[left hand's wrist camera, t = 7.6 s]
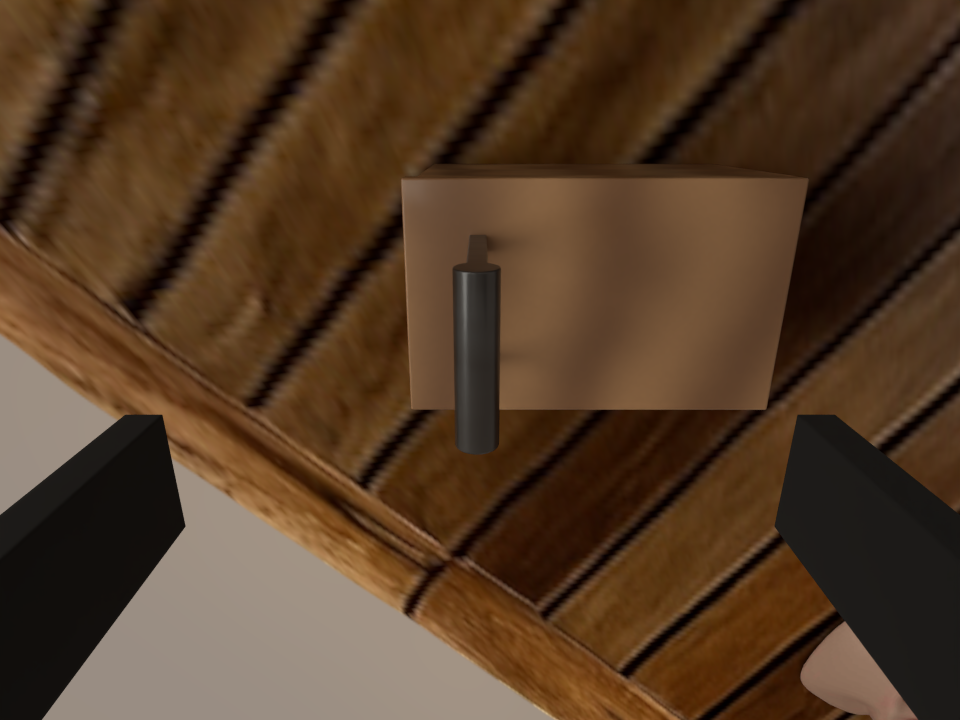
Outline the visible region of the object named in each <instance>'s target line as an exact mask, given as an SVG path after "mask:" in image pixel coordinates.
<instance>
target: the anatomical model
mask: <svg viewBox="0 0 960 720" xmlns="http://www.w3.org/2000/svg"><path fill="white" fill-rule="evenodd" d="M800 677H801V682H802V683H803V685H804V686H805V687H806V688H807V689H808V690H809V691H811V692H812V693H813V694H815V695H816V696H818V697H819V698H821V699H822V700H824V701H826V702H827V703H829V704H831V705H833V706H835V707H837V708H840V709H842V710H844V711H847V712H850V713H854V714H859V715H870V716H871V718H872V719H873V720H918V719H917V717H916V716H915V715H914V713H913V712H912V711H911V709H910V708H909V707H908V705H907V704H906V703H905V701H904V700H903V699H902V697H901V696H900V695H899V693H898V692H897V691H896V689H895V688H894V687H893V685H892V684H891V682H890V681H889V680H888V678H887V677H886V676H885V674H884V673H883V672H882V670H881V669H880V668H879V666H878V665H877V664H876V662H875V661H874V660H873V658H872V657H871V656H870V654H869V653H868V652H867V650H866V649H865V648H864V646H863V645H862V643H861V642H860V641H859V639H858V638H857V637H856V635H855V634H854V633H853V631H852V630H851V629H850V627H849V626H848V625H847V623H846V622H845V621H844V622H843V623H842V624H840V625H839V626H838V627H836V628H835V629H834V630H833V631H832V632H831V633H830V634H829V635H828V636H827V637H826V638H825V639H824V640H823V641H822V642H821V643H820V644H819V645H818V647H817V648H816V649H815V650H814V652H813V653H812V654H811V655H810V657H809V658H808V660H807V661H806V663H805V664H804V666H803V668H802V671H801V676H800Z"/></svg>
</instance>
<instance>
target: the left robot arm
mask: <svg viewBox="0 0 960 720" xmlns="http://www.w3.org/2000/svg"><path fill="white" fill-rule="evenodd" d="M184 528H185V522H184V517H183V512H182V507H181V502H180V498H179V493H178V488H177V483H176V478H175V474H174V469H173V464H172V459H171V454H170V449H169V445H168V440H167V435H166V430H165V425H164V421H163V416H162V415H124V416H123V417H122V418H121V419H119V420H118V421H117V422H116V423H114V424H113V425H112V426H111V427H109V428H108V429H107V430H106V431H104V432H103V433H102V434H101V435H99V436H98V437H97V438H96V439H94V440H93V441H92V442H91V443H89V444H88V445H87V446H86V447H85V448H83V449H82V450H81V451H80V452H78V453H77V454H76V455H75V456H73V457H72V458H71V459H70V460H68V461H67V462H66V463H65V464H63V465H62V466H61V467H60V468H58V469H57V470H56V471H55V472H53V473H52V474H51V475H50V476H48V477H47V478H46V479H45V480H43V481H42V482H41V483H40V484H38V485H37V486H36V487H35V488H33V489H32V490H31V491H30V492H28V493H27V494H26V495H25V496H23V497H22V498H21V499H20V500H18V501H17V502H16V503H15V504H13V505H12V506H11V507H10V508H8V509H7V510H6V511H5V512H3V513H2V514H1V515H0V720H42V719H43V717H44V716H45V715H46V713H47V712H48V711H49V709H50V708H51V707H52V705H53V704H54V703H55V701H56V700H57V699H58V697H59V696H60V695H61V693H62V692H63V691H64V689H65V688H66V686H67V685H68V684H69V682H70V681H71V680H72V678H73V677H74V676H75V674H76V673H77V672H78V670H79V669H80V668H81V666H82V665H83V664H84V662H85V661H86V660H87V658H88V657H89V656H90V654H91V653H92V651H93V650H94V649H95V647H96V646H97V645H98V643H99V642H100V641H101V639H102V638H103V637H104V635H105V634H106V633H107V631H108V630H109V629H110V627H111V626H112V625H113V623H114V622H115V621H116V619H117V618H118V617H119V615H120V614H121V612H122V611H123V610H124V608H125V607H126V606H127V604H128V603H129V602H130V600H131V599H132V598H133V596H134V595H135V594H136V592H137V591H138V590H139V588H140V587H141V586H142V584H143V583H144V582H145V580H146V579H147V578H148V576H149V575H150V574H151V572H152V571H153V569H154V568H155V567H156V565H157V564H158V563H159V561H160V560H161V559H162V557H163V556H164V555H165V553H166V552H167V551H168V549H169V548H170V547H171V545H172V544H173V543H174V541H175V540H176V539H177V537H178V536H179V534H180V533H181V532H182V530H183V529H184ZM775 528H776V529H777V530H778V532H779V533H780V535H781V536H782V537H783V539H784V540H785V541H786V543H787V544H788V545H789V547H790V548H791V549H792V551H793V552H794V553H795V555H796V556H797V557H798V559H799V560H800V561H801V563H802V564H803V565H804V567H805V568H806V569H807V571H808V572H809V574H810V575H811V576H812V578H813V579H814V580H815V582H816V583H817V584H818V586H819V587H820V588H821V590H822V591H823V592H824V594H825V595H826V596H827V598H828V599H829V600H830V602H831V603H832V604H833V606H834V607H835V608H836V610H837V611H838V613H839V614H840V615H841V617H842V618H843V619H844V621H845V622H846V623H847V625H848V626H849V627H850V629H851V630H852V631H853V633H854V634H855V635H856V637H857V638H858V639H859V641H860V642H861V643H862V645H863V646H864V648H865V649H866V650H867V652H868V653H869V654H870V656H871V657H872V658H873V660H874V661H875V662H876V664H877V665H878V666H879V668H880V669H881V670H882V672H883V673H884V674H885V676H886V677H887V678H888V680H889V681H890V682H891V684H892V685H893V687H894V688H895V689H896V691H897V692H898V693H899V695H900V696H901V697H902V699H903V700H904V701H905V703H906V704H907V705H908V707H909V708H910V709H911V711H912V712H913V713H914V715H915V716H916V717H917V719H918V720H960V515H959V514H958V513H957V512H955V511H954V510H953V509H952V508H950V507H949V506H948V505H947V504H945V503H944V502H943V501H942V500H940V499H939V498H938V497H937V496H935V495H934V494H933V493H932V492H930V491H929V490H928V489H927V488H925V487H924V486H923V485H922V484H920V483H919V482H918V481H917V480H915V479H914V478H913V477H912V476H910V475H909V474H908V473H907V472H905V471H904V470H903V469H902V468H900V467H899V466H898V465H897V464H895V463H894V462H893V461H892V460H890V459H889V458H888V457H887V456H885V455H884V454H883V453H882V452H880V451H879V450H878V449H877V448H876V447H874V446H873V445H872V444H871V443H869V442H868V441H867V440H866V439H864V438H863V437H862V436H861V435H859V434H858V433H857V432H856V431H854V430H853V429H852V428H851V427H849V426H848V425H847V424H846V423H844V422H843V421H842V420H841V419H839V418H838V417H837V416H836V415H798V416H797V421H796V425H795V430H794V435H793V440H792V445H791V449H790V454H789V459H788V464H787V469H786V474H785V478H784V483H783V488H782V493H781V498H780V502H779V507H778V512H777V517H776V522H775Z"/></svg>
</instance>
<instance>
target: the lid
mask: <svg viewBox="0 0 960 720" xmlns="http://www.w3.org/2000/svg"><path fill="white" fill-rule="evenodd" d="M808 183H809V179H808V178H804V177H403V178H402V179H401V192H402V215H403V237H404V259H405V282H406V304H407V326H408V348H409V371H410V393H411V408H412V409H455V444H456V447H457V448H458V449H459V450H460V451H462V452H465V453H468V454H486V453H489V452H492V451H494V450H495V449H496V448H497V447H498V445H499V410H765V409H766V408H767V403H768V397H769V392H770V387H771V381H772V376H773V371H774V365H775V360H776V354H777V349H778V344H779V338H780V333H781V328H782V322H783V317H784V311H785V306H786V301H787V295H788V290H789V285H790V279H791V274H792V268H793V263H794V258H795V252H796V247H797V242H798V236H799V231H800V226H801V220H802V215H803V209H804V204H805V199H806V193H807V188H808Z"/></svg>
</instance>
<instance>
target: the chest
mask: <svg viewBox="0 0 960 720" xmlns="http://www.w3.org/2000/svg"><path fill="white" fill-rule="evenodd" d="M417 177H797V176H792V175H785V174H778V173H771V172H764V171H757V170H750V169H744V168H737V167H730V166H723V165H716V164H434V165H433V166H431V167H430V168H428V169H427V170H426V171H424V172H423V173H422V174H420V175H419V176H417Z"/></svg>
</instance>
